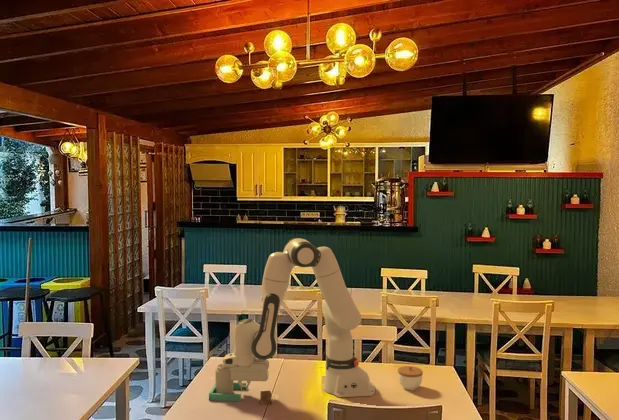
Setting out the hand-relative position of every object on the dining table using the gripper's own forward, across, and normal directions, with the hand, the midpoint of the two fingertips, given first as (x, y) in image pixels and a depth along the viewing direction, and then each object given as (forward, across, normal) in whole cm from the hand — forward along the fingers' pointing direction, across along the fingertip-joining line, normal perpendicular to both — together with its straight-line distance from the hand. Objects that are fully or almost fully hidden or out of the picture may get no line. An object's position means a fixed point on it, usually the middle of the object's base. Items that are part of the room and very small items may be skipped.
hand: (244, 390), depth 212 cm
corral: (+2, +7, 0) cm, 7 cm away
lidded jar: (+3, -71, -14) cm, 72 cm away
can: (+2, +9, 0) cm, 9 cm away
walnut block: (+2, -10, +7) cm, 12 cm away
